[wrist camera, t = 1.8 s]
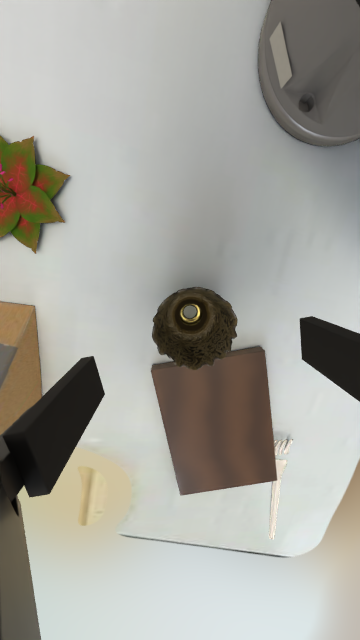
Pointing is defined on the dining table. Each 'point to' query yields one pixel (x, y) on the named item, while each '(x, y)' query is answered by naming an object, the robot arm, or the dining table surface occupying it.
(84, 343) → the dining table surface
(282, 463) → the fork
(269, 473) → the walnut board
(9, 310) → the sandwich container
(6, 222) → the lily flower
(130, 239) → the dining table surface
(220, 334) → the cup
